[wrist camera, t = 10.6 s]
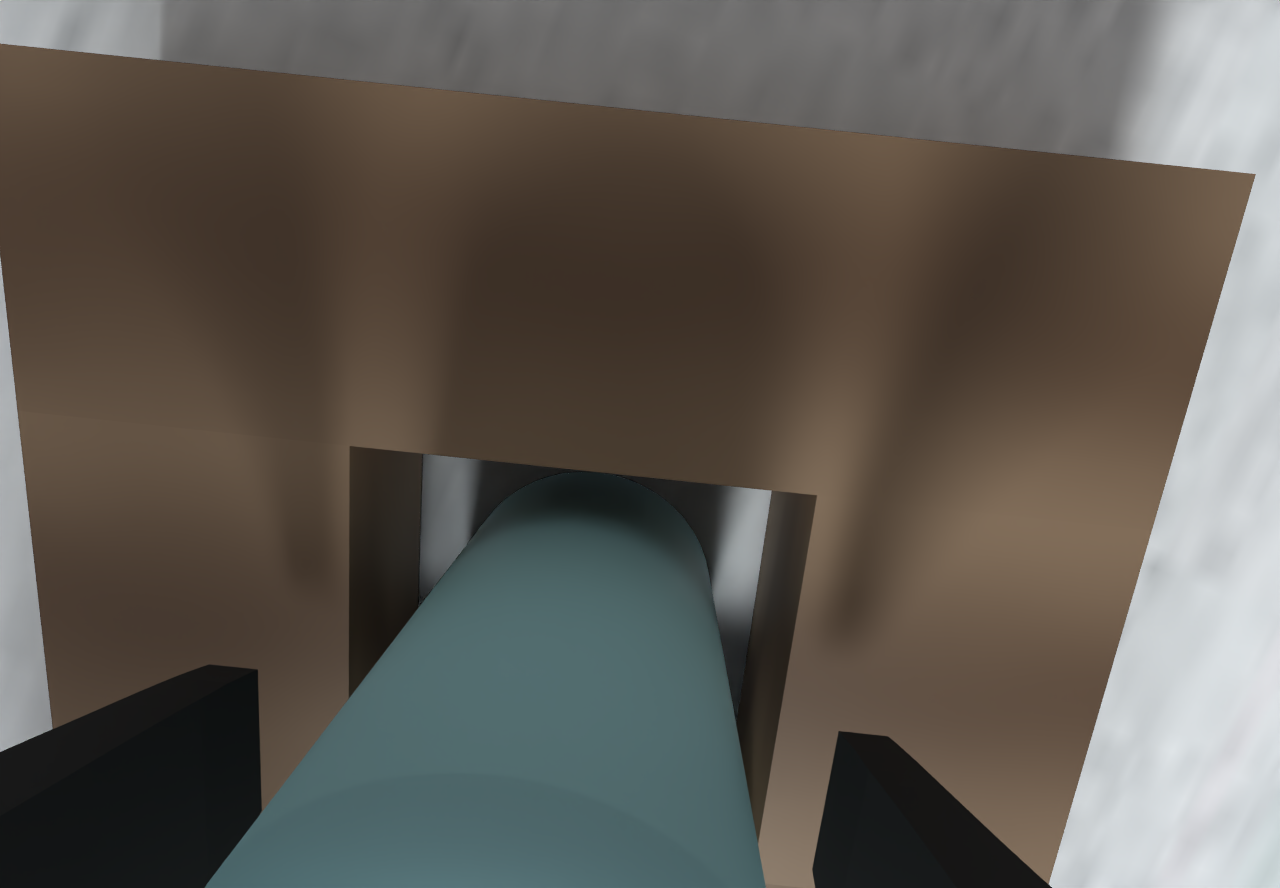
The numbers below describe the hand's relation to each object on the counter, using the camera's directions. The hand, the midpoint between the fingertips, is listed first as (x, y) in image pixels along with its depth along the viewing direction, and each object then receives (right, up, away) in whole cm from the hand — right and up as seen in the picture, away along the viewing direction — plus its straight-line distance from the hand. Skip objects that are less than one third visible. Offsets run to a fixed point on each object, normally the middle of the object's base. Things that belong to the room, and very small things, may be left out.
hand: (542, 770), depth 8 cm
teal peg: (0, +1, +5) cm, 5 cm away
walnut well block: (0, +1, +5) cm, 5 cm away
